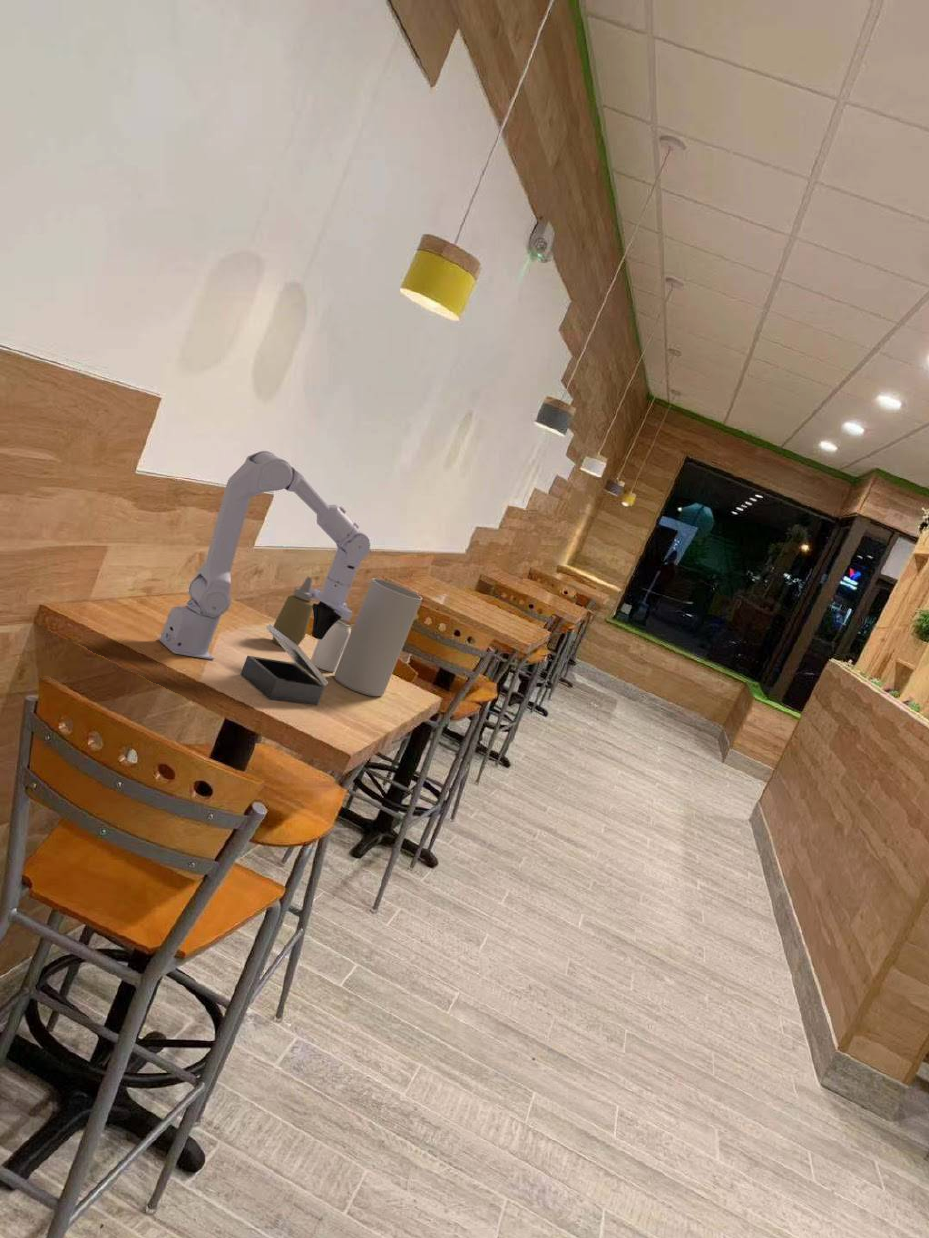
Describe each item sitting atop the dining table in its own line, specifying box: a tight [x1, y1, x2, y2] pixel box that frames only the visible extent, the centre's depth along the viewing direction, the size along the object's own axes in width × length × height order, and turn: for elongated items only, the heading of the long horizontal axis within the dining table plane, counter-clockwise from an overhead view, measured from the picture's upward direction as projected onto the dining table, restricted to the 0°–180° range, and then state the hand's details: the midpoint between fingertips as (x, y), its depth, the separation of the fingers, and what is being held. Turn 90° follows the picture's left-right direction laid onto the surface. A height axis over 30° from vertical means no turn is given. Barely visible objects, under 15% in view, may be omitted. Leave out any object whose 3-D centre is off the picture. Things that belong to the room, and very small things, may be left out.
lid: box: [266, 624, 329, 687], centre depth 188 cm, size 12×12×1 cm
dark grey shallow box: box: [239, 655, 325, 706], centre depth 188 cm, size 12×12×4 cm
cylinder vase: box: [334, 577, 423, 697], centre depth 214 cm, size 12×12×25 cm
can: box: [310, 618, 352, 673], centre depth 219 cm, size 6×6×12 cm
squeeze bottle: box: [272, 576, 314, 647], centre depth 224 cm, size 8×8×18 cm
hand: (316, 637), depth 203 cm, fingers closed
